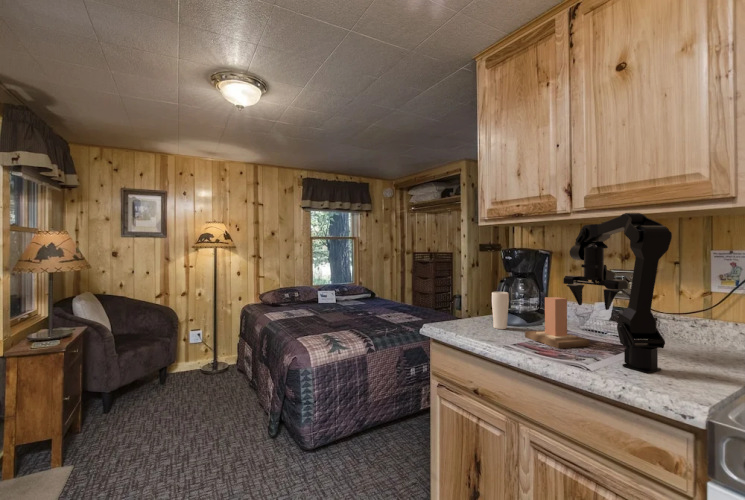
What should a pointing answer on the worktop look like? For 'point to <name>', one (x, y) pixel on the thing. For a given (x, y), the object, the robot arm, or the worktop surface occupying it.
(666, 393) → the worktop surface
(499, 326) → the drinking glass
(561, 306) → the terracotta tower brick
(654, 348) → the robot arm
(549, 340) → the wooden board
